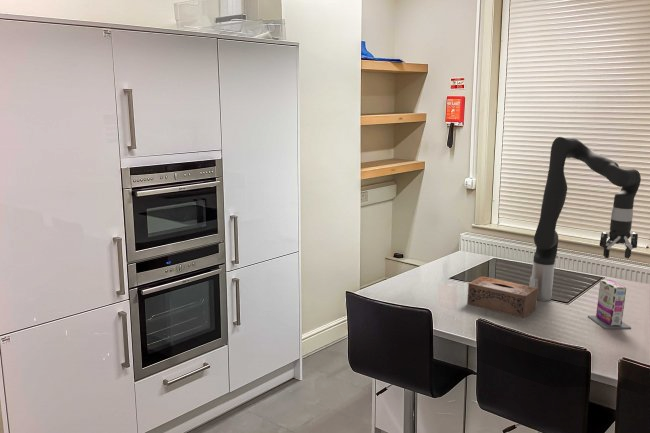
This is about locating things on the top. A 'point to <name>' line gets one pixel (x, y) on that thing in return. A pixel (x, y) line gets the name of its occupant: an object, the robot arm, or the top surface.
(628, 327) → the coaster
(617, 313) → the candy bar box
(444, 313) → the top surface
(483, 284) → the tissue box cover
